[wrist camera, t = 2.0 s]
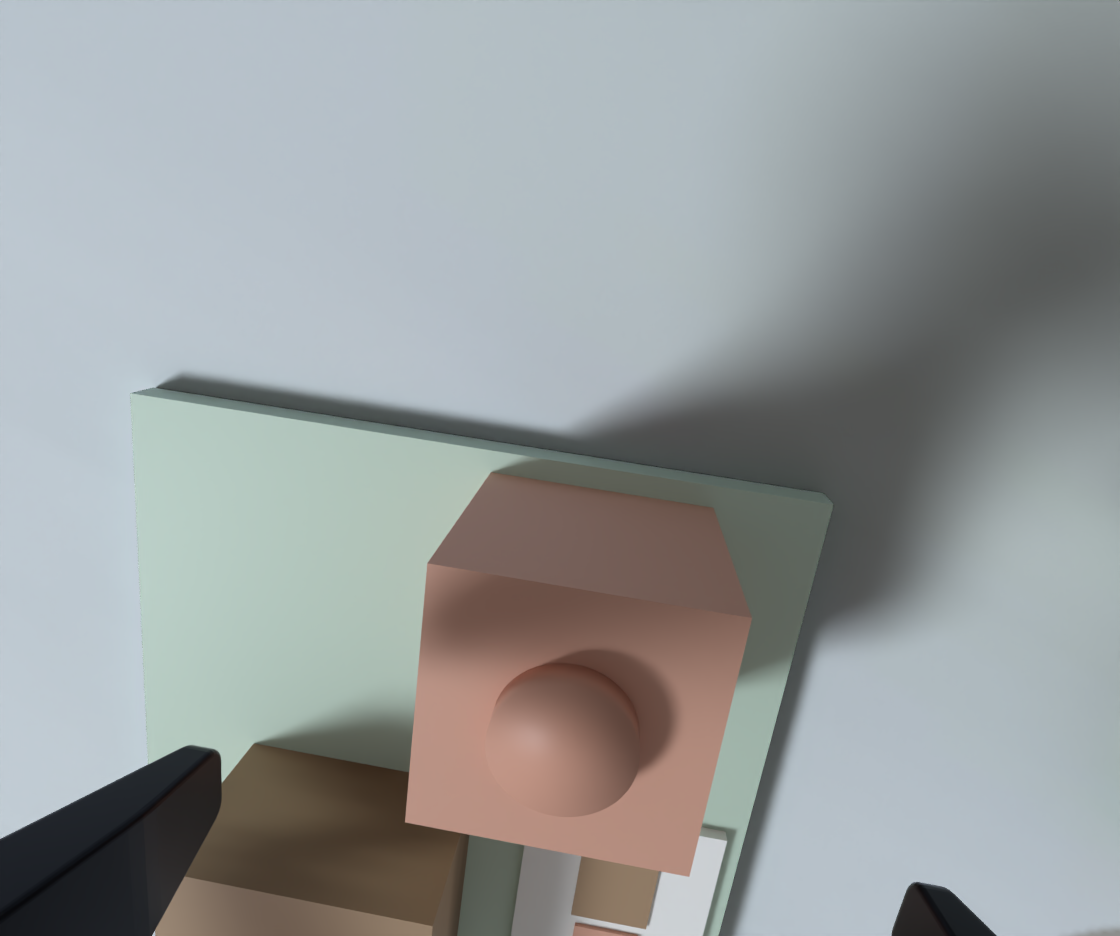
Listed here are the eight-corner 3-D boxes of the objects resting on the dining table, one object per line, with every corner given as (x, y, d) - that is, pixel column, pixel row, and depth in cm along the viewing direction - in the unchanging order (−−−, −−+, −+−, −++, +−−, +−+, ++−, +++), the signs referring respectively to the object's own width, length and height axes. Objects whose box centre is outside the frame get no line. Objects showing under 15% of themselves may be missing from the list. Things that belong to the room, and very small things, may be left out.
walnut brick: (475, 784, 18) (432, 926, 14) (454, 956, 19) (411, 1123, 16) (253, 743, 18) (152, 869, 14) (252, 915, 20) (162, 1069, 16)
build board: (823, 493, 15) (839, 511, 14) (690, 1002, 20) (694, 1046, 19) (153, 387, 16) (117, 396, 15) (172, 897, 21) (146, 933, 20)
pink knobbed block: (713, 507, 15) (759, 638, 10) (672, 700, 16) (692, 908, 11) (490, 472, 15) (415, 579, 10) (469, 665, 17) (393, 850, 11)
